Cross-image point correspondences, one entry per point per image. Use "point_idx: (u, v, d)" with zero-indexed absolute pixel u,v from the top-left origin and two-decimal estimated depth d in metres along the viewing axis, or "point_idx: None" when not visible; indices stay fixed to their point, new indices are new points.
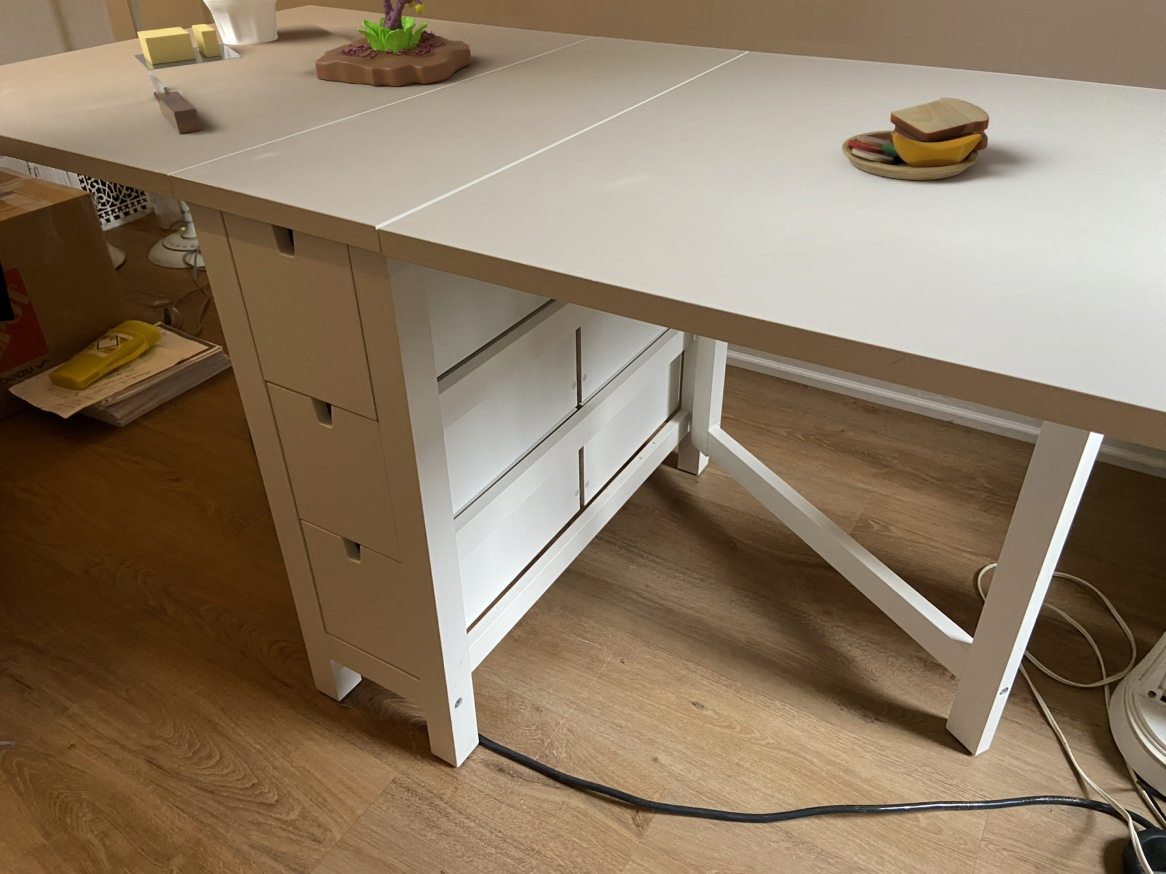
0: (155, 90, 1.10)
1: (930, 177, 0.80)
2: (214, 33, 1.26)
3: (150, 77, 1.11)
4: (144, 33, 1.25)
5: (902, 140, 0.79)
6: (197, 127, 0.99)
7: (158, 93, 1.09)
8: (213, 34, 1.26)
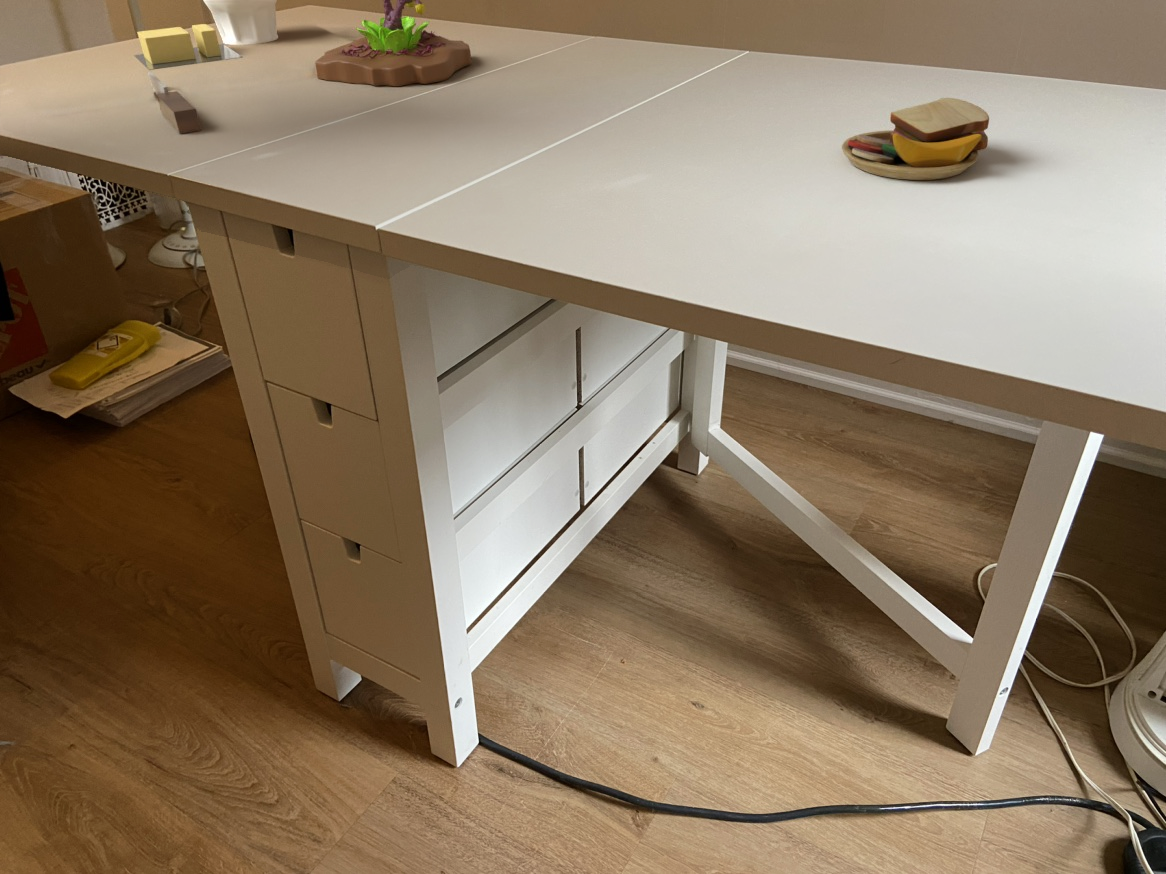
0: (155, 90, 1.10)
1: (930, 177, 0.80)
2: (214, 33, 1.26)
3: (150, 77, 1.11)
4: (144, 33, 1.25)
5: (902, 140, 0.79)
6: (197, 127, 0.99)
7: (158, 93, 1.09)
8: (213, 34, 1.26)
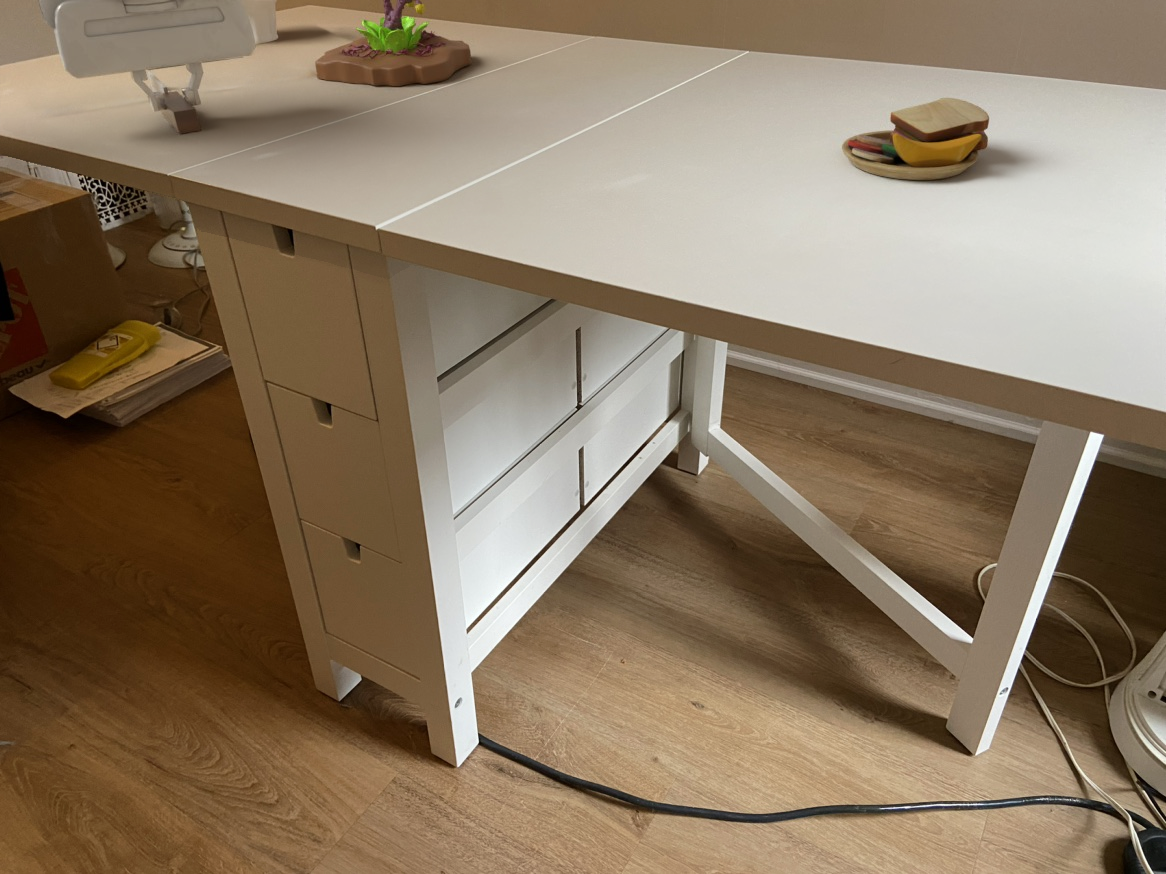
0: (155, 90, 1.10)
1: (930, 177, 0.80)
2: None
3: (150, 77, 1.11)
4: None
5: (902, 140, 0.79)
6: (197, 127, 0.99)
7: None
8: None
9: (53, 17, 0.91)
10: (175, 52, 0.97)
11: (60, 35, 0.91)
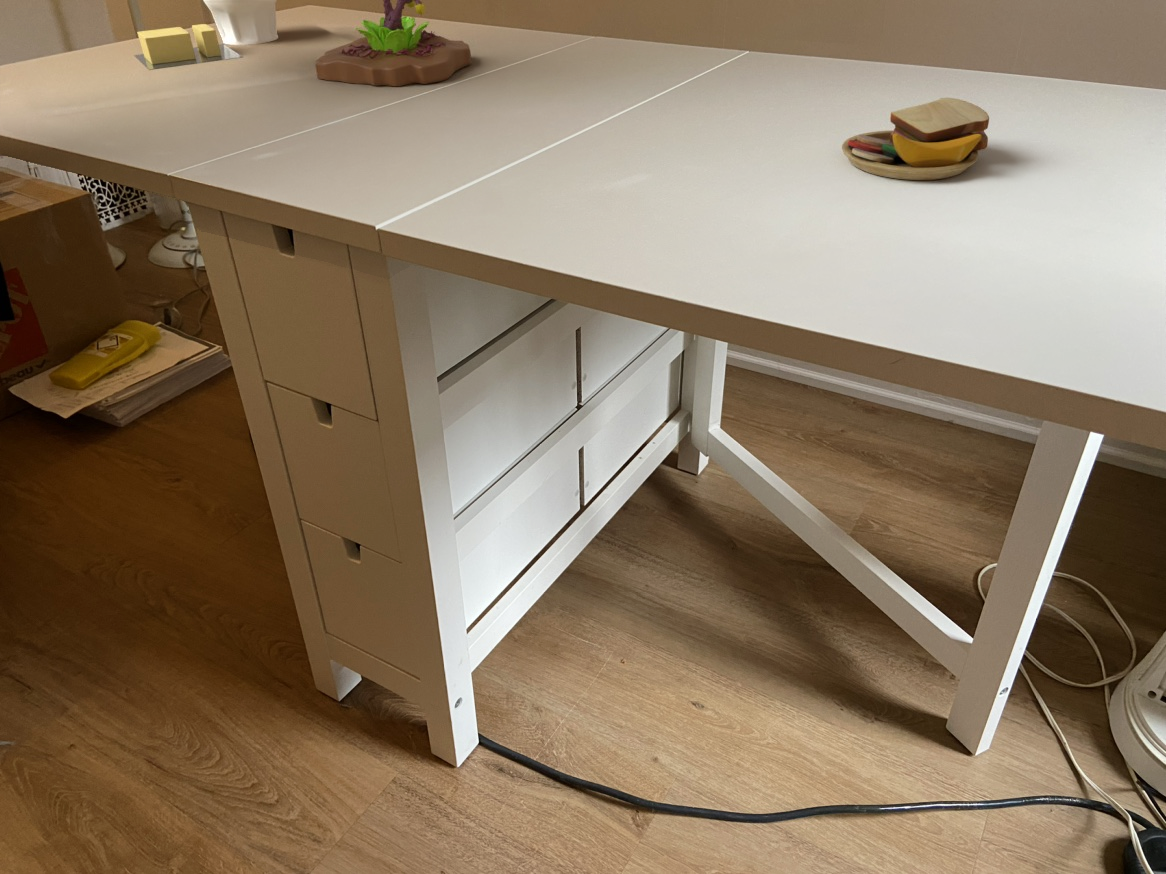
0: None
1: (930, 177, 0.80)
2: (214, 33, 1.26)
3: None
4: (144, 33, 1.25)
5: (902, 140, 0.79)
6: None
7: None
8: (213, 34, 1.26)
9: None
10: None
11: None
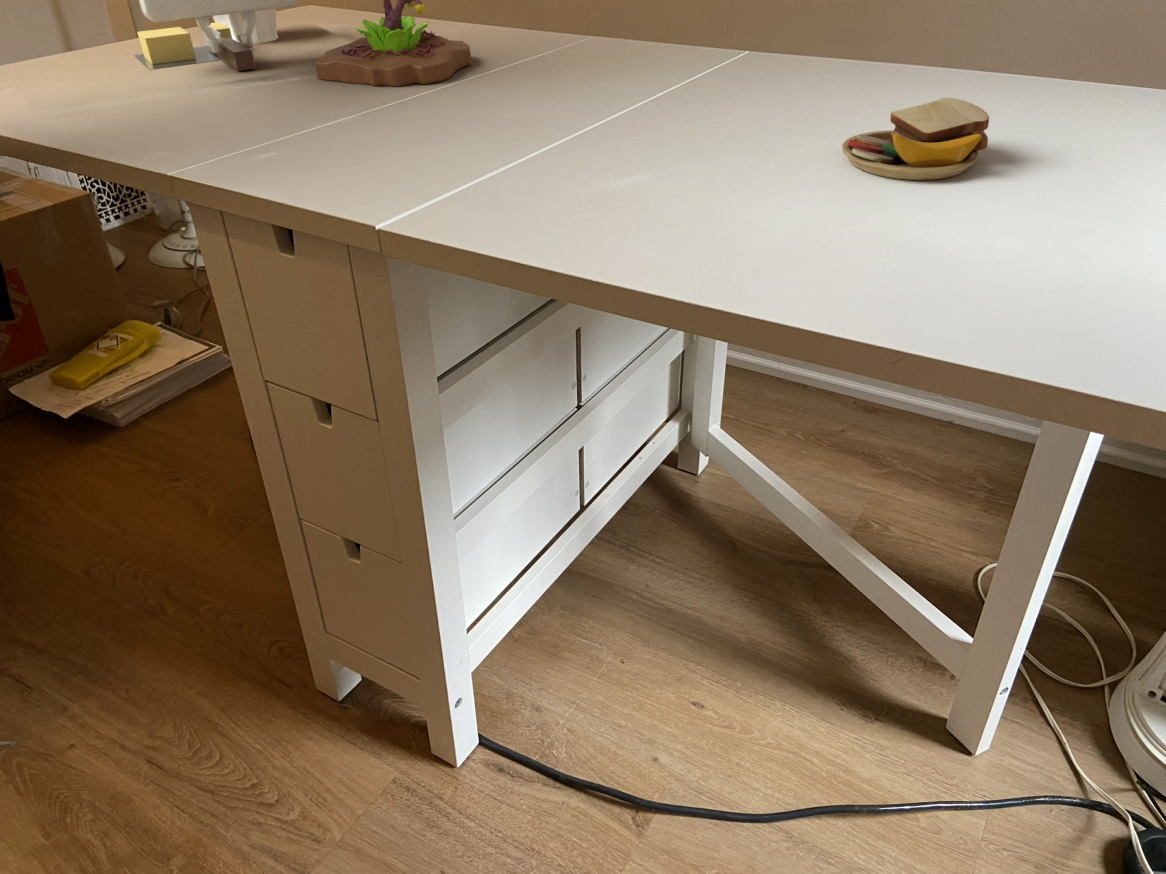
0: (207, 38, 1.30)
1: (930, 177, 0.80)
2: (229, 31, 1.27)
3: None
4: (144, 33, 1.25)
5: (902, 140, 0.79)
6: (252, 65, 1.19)
7: None
8: (228, 32, 1.27)
9: None
10: (234, 2, 1.17)
11: None
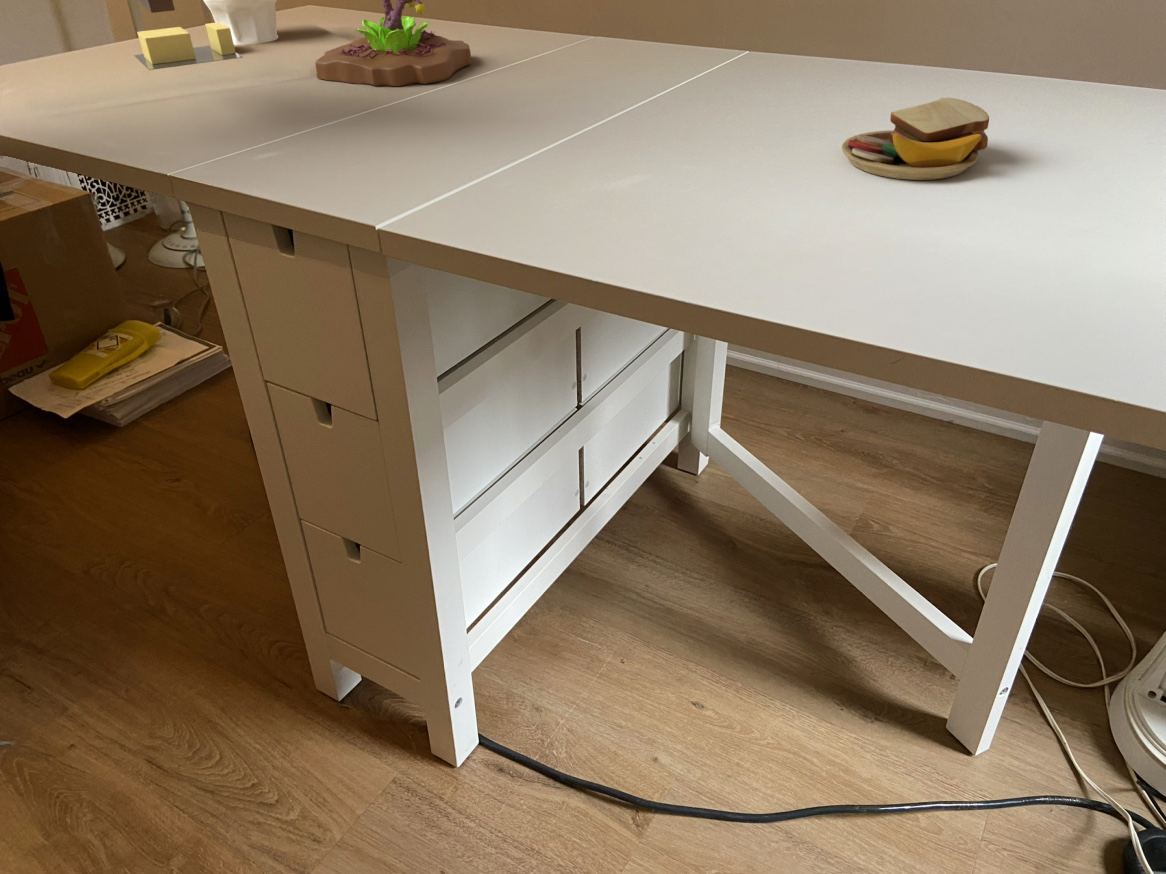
0: None
1: (930, 177, 0.80)
2: (229, 31, 1.27)
3: None
4: (144, 33, 1.25)
5: (902, 140, 0.79)
6: (170, 6, 0.94)
7: None
8: (228, 32, 1.27)
9: None
10: None
11: None
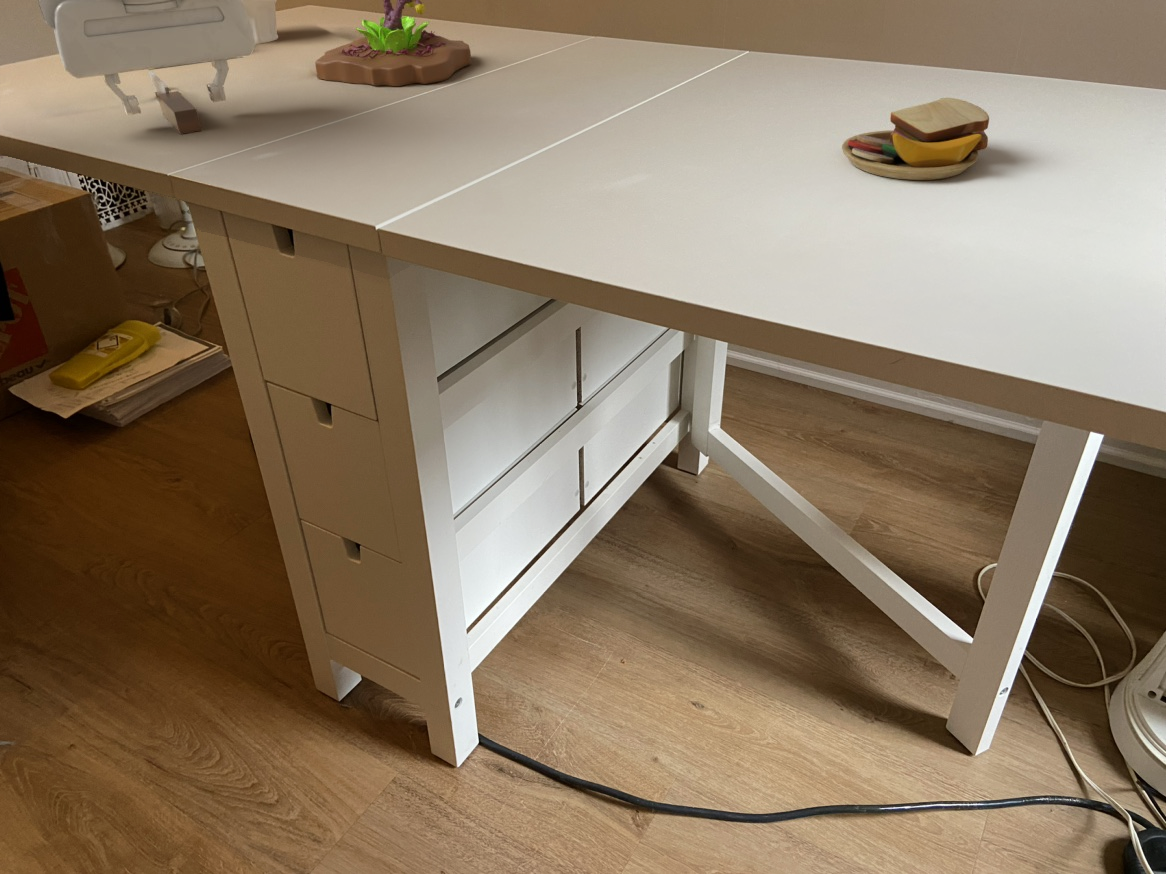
0: (156, 90, 1.10)
1: (930, 177, 0.80)
2: None
3: (151, 77, 1.11)
4: None
5: (902, 140, 0.79)
6: (197, 127, 0.99)
7: (159, 93, 1.09)
8: None
9: (53, 17, 0.91)
10: (175, 52, 0.97)
11: (60, 35, 0.91)
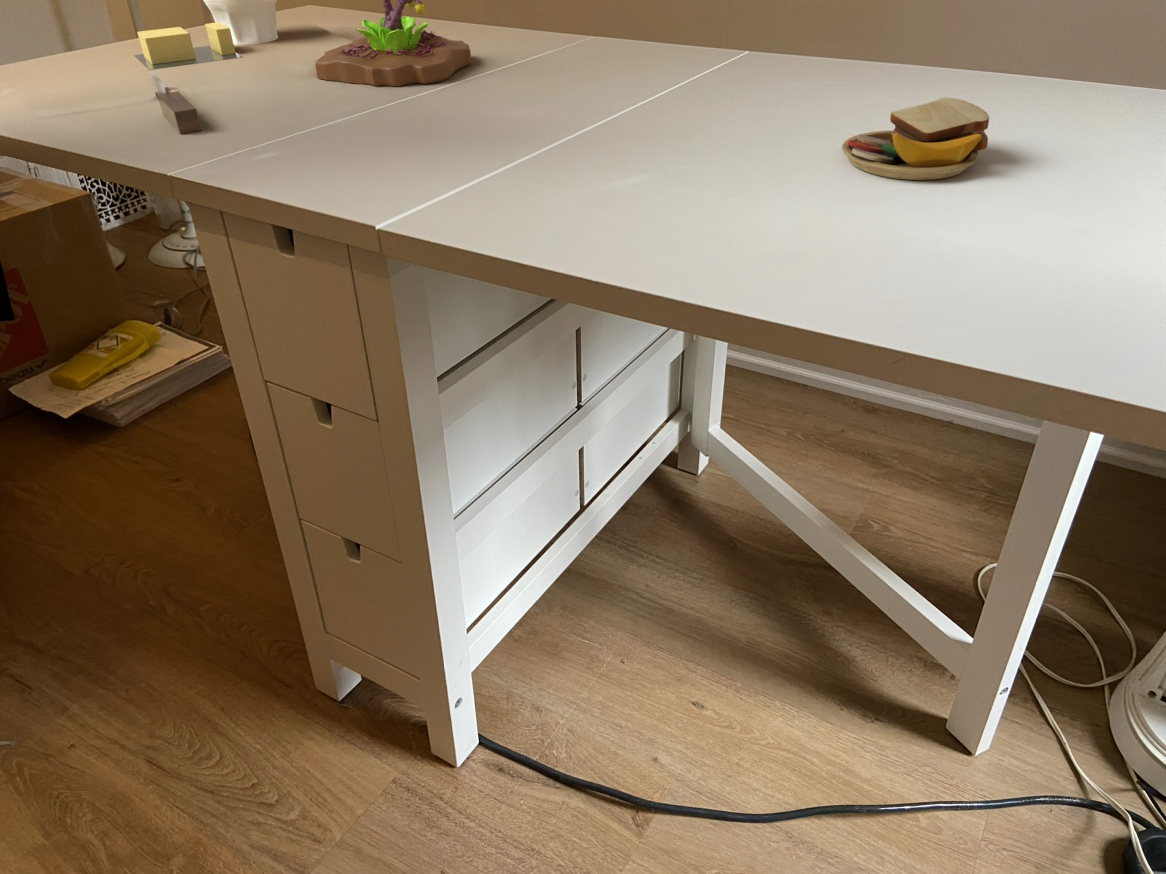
0: (156, 90, 1.10)
1: (930, 177, 0.80)
2: (229, 31, 1.27)
3: (151, 77, 1.11)
4: (144, 33, 1.25)
5: (902, 140, 0.79)
6: (197, 127, 0.99)
7: (159, 93, 1.09)
8: (228, 32, 1.27)
9: None
10: None
11: None
